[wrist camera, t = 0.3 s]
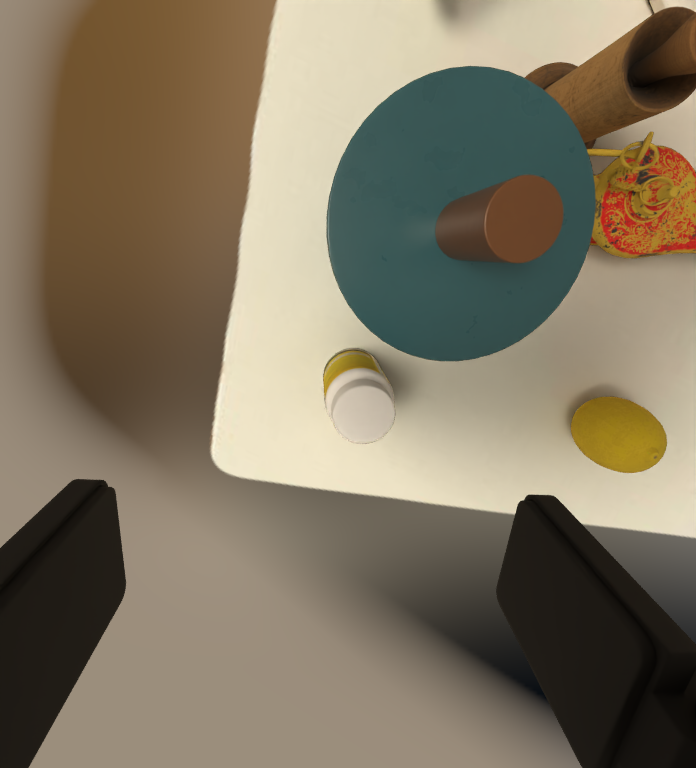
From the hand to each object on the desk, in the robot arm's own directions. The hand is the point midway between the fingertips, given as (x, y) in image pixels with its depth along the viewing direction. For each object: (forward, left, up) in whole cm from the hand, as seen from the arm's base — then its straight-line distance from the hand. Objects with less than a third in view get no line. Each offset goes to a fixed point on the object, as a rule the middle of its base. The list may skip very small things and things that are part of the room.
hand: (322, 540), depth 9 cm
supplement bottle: (+3, +3, -24) cm, 24 cm away
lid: (-8, +5, -10) cm, 14 cm away
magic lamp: (-11, +22, -24) cm, 34 cm away
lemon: (+5, +24, -24) cm, 34 cm away
